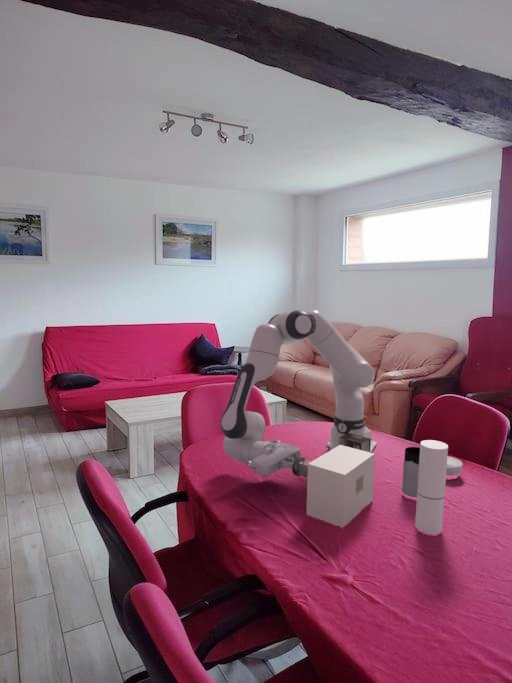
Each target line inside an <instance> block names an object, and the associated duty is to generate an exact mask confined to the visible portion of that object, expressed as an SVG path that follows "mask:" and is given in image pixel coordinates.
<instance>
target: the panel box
mask: <svg viewBox="0 0 512 683" xmlns="http://www.w3.org/2000/svg"><path fill="white" fill-rule="evenodd" d="M375 456H376V455H375V453H373V452H372V453H370V452H366V451H362V450H359V449H355V448H351V447H347V446H343V445H339V446H337V447H335V448H334V449H332V450H328V451H327V452H325V453H324V454H322V455H320V456H319V457H317V458H316V459H315V458H314V459H313V460H311V461H312V462H310V463H309V464H308V478H307V480H306V481H307V485H306V486H307V488H306V491H307V492H306V514H307V515H306V516H308V515H310V516H312V517H311V518H313V517H315V518H314V519H316V518H318V519H321V520H324V521H326V522H329V523H331V524H330V525H332V524H334V525H337V526H340V527H344V526H345V525H346V524H347V523H348V522H350V521H351V520H352V519H353V518H354V517H355V516H356V515H357V514H358V513H359V512H360V511H361V510H362V509H363V508H364V507H365V506H366V505H367V504H369V503H370V502H371V501H372V502H373V496H374V493H373V492H374V479H375V478H374V475H375V474H374V473H375ZM310 516H309V517H310ZM356 517H357V516H356ZM356 517H355V518H356ZM355 518H354V519H355ZM318 519H317V520H318ZM354 519H353V520H354ZM321 520H320V521H321ZM353 520H352V521H353ZM324 521H323V522H324ZM352 521H351V522H352ZM326 522H325V523H326ZM351 522H350V523H351ZM329 523H328V524H329ZM334 525H333V526H334ZM337 526H336V527H337ZM345 527H346V526H345ZM345 527H344V528H345Z"/></svg>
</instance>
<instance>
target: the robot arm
mask: <svg viewBox="0 0 512 683" xmlns="http://www.w3.org/2000/svg"><path fill="white" fill-rule="evenodd" d="M305 338H306V339H307V341H308V342H309V343H310V344H311V346H312V347H313V348H314V349H315V350H316V352H317V353H318V354H319V355H320V356H321V357H322V358H323V360H324V361H326V362H327V363H328V364H329V365H328V366H329V370H330V373H331V374H332V380H333V386H334V392H335V415H334V418H333V426H332V427H331V429H330V436H329V437H330V438H329V441H328V442H327V443H326V445H327V447H328V448H329V449H330V450H332V449H334V448H335V447H337V446H339V437H342V436H343V435H345V434H347V433H350V434H354V435H358V436H362V437H366V438H369V439H371V442H370V453H371V451H372V450H373V448H374V447H375V445H376V444H377V445H378V442H376V441H375V440H373V439H372V431H371V430H370V429H369V428H368V427H367V426H366V422H367V421H368V416H367V415H364V407H365V400H364V396H363V394H362V391H361V388H362V389H363V388H368V387H370V386H371V385H372V384H373V382H374V381H375V379H376V378H375V377H376V372H375V369H374V367H373V365H371V364H370V363H369V362H368V361H367V360H366V359H365V358H364V357H363V356H362V355H361V354H360V353H359V352H358V351H357V350H356V349H355V348H354V347H353V346H352V345H350V344H349V343H348V341H347V340H346V339H345V338H344V337H343V336H342V335H341V333H340V332H339V331H338V330H337V329H336V327H335V326H334V325H333V323H332V322H331V321H330V320H329V319H328V318H327V317H326V316H325V315H323V314H322V313H321V312H320V311H319V310H316V309H310V310H307V311H304V310H299V309H298V310H290V311H285V312H282V313H278V314H275V315H273V316H272V317H271V318H270V319H269V321H268V322H267V323H262V324H260V325H259V326H257V327H256V329H255V331H254V334H253V336H252V340H251V342H250V346H249V350H248V355H247V358H246V360H245V363H244V364H243V365H242V366H241V367H240V370H239V371H238V373H237V377H236V379H235V382H234V385H233V388H232V391H231V394H230V397H229V400H228V403H227V406H226V408H225V410H223V413H222V414H221V418H220V423H219V424H220V430H221V432H222V434H223V435H224V436H225V437H224V439H223V443H222V448H223V452H224V454H225V455H227V456H228V457H229V458H230V459H232V460H235V461H237V462H240V463H243V464H244V463H246V467H247V468H249V469H251V470H252V471H253V472H255V473H257V474H259V475H261V476H264V477H270V476H271V475H273V474H275V473H277V472H278V471H279V470H282V469H291V470H292V466H293V463H294V460H295V459H296V458H297V457H301V449H300V447H298V446H295V445H293V444H289V443H287V442H286V443H285V442H282V441H281V440H279V439H275V440H274V439H273V440H269V441H267V440H265V441H262V440H263V437H264V434H265V431H266V429H267V428H266V427H267V426H266V420H265V417H264V415H262V414H261V413H259V412H255V411H251V410H246V407H247V405H248V401H249V397H250V394H251V391H252V389H253V387H254V385H256V383H258V382H260V381H262V380H264V379H267V378H270V377H271V376H272V375H273V374H274V373H275V372H276V370H277V367H278V363H279V359H280V353H281V348H282V345H283V343H284V342H293V341H297V340H303V339H305ZM375 448H376V447H375ZM330 450H329V451H330ZM373 451H374V450H373ZM373 451H372V452H373Z"/></svg>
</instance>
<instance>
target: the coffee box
mask: <svg viewBox="0 0 512 683" xmlns="http://www.w3.org/2000/svg"><path fill="white" fill-rule="evenodd" d="M371 440H372V438H371V439H369V438H366V437H362V436H358V435H354V434H350V433H347V434H345V435H343V436H342V437H339V445H343V446H347V447H351V448H355V449H359V450H362V451H366V452H370V442H371Z"/></svg>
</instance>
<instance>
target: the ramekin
mask: <svg viewBox="0 0 512 683" xmlns="http://www.w3.org/2000/svg"><path fill="white" fill-rule="evenodd" d="M463 466H464V465H463V461H461V460H460V459H458V458H456V457H453V456H447V470H446V475H449V476H450V475H451V476H452V475H457V474H459V473H460V474H462V473H461V472H462V468H463Z"/></svg>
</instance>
